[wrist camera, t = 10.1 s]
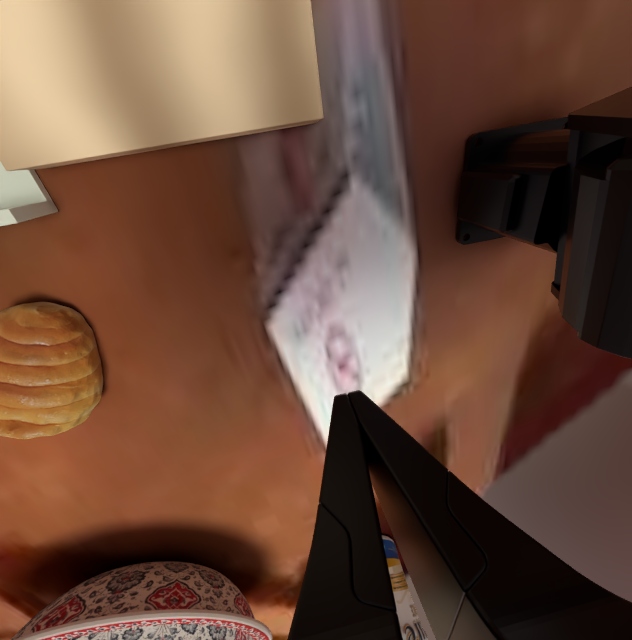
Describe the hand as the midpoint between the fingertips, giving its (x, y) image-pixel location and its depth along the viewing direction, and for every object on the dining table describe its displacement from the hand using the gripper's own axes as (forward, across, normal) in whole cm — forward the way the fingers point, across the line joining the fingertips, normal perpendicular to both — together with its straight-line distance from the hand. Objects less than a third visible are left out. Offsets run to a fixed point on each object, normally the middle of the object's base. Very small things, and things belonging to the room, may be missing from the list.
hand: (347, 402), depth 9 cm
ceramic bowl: (+12, +26, +38) cm, 48 cm away
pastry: (+12, +19, +3) cm, 23 cm away
